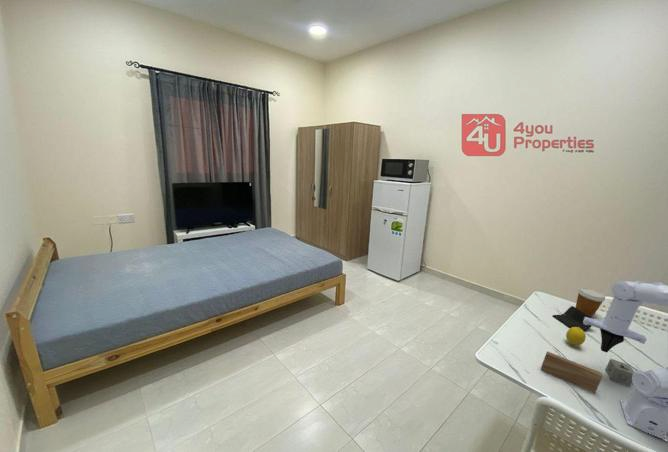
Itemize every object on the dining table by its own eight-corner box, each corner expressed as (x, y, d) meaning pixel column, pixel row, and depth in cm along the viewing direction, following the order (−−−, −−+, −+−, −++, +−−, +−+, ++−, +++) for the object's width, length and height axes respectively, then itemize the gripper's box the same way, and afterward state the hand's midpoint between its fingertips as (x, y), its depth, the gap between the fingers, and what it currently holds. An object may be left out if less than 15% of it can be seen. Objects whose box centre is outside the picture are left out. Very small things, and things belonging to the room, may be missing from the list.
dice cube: (609, 379, 93) (615, 368, 91) (605, 369, 97) (610, 358, 95) (629, 387, 90) (636, 375, 89) (624, 376, 94) (630, 365, 93)
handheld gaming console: (550, 314, 125) (567, 299, 123) (554, 319, 128) (571, 305, 127) (576, 334, 115) (596, 318, 113) (580, 339, 119) (599, 323, 117)
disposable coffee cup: (587, 322, 123) (596, 299, 120) (565, 309, 132) (573, 287, 128) (602, 319, 126) (611, 297, 122) (579, 307, 135) (588, 286, 131)
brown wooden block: (594, 393, 87) (602, 376, 85) (540, 370, 94) (547, 353, 92) (594, 390, 88) (602, 373, 86) (540, 367, 96) (547, 351, 93)
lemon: (584, 351, 105) (592, 333, 103) (568, 348, 106) (575, 331, 104) (575, 341, 110) (582, 324, 108) (560, 338, 111) (566, 321, 109)
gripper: (648, 319, 87) (630, 353, 92) (588, 301, 95) (575, 334, 99) (655, 330, 82) (636, 366, 86) (591, 311, 90) (576, 344, 94)
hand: (603, 350), depth 92 cm, fingers closed
